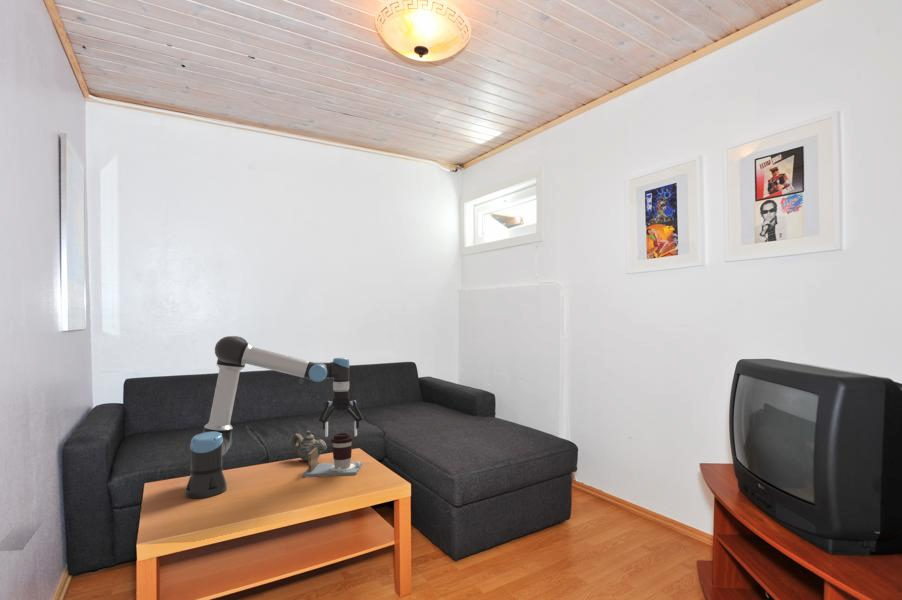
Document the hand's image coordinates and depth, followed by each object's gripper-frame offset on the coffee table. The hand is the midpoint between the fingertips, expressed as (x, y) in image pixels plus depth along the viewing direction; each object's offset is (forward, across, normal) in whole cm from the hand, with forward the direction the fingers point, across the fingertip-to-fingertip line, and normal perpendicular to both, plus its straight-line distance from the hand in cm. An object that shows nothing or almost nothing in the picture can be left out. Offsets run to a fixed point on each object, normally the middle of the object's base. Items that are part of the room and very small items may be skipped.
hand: (341, 436), depth 218 cm
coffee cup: (+14, +1, 0) cm, 14 cm away
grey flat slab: (+16, -3, 0) cm, 16 cm away
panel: (+14, -14, 0) cm, 20 cm away
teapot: (+16, -20, +20) cm, 33 cm away
